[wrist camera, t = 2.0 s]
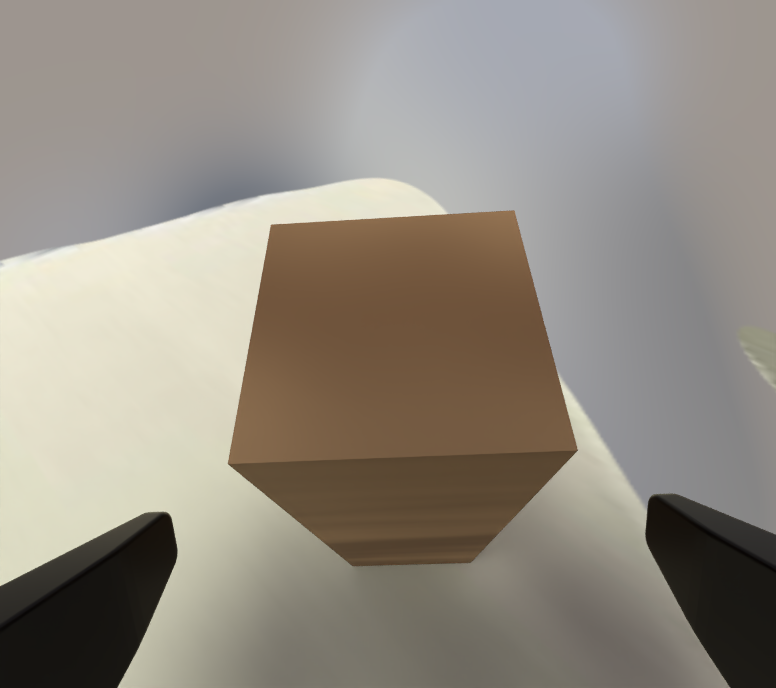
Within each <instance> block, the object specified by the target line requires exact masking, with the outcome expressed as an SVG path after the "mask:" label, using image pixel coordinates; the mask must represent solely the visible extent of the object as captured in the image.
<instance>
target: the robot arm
mask: <svg viewBox="0 0 776 688" xmlns="http://www.w3.org/2000/svg"><path fill="white" fill-rule="evenodd" d="M645 535H646V542H647V545H648V547H649V550H650V551H651V553H652V555H653V557H654V559H655V561H656V563H657V565H658V566H659V568H660V570H661V572H662V574H663V576H664V578H665V579H666V581H667V583H668V585H669V587H670V589H671V591H672V593H673V594H674V596H675V598H676V600H677V602H678V604H679V606H680V607H681V609H682V611H683V613H684V615H685V617H686V619H687V620H688V622H689V624H690V626H691V627H692V629H693V631H694V633H695V634H696V636H697V637H698V639H699V640H700V642H701V644H702V645H703V647H704V648H705V650H706V651H707V653H708V654H709V656H710V658H711V659H712V661H713V662H714V664H715V665H716V667H717V668H718V670H719V671H720V673H721V674H722V676H723V677H724V679H725V680H726V682H727V683H728V685H729V686H730V688H776V535H775V534H773V533H770V532H768V531H765V530H763V529H760V528H758V527H756V526H753V525H751V524H748V523H746V522H743V521H741V520H738V519H736V518H734V517H731V516H729V515H726V514H724V513H721V512H719V511H717V510H714V509H712V508H709V507H707V506H704V505H702V504H700V503H697V502H695V501H692V500H690V499H687V498H685V497H682V496H680V495H677V494H654V495H652V496H651V497H650V499H649V501H648V509H647V520H646V532H645ZM176 559H177V544H176V538H175V533H174V528H173V523H172V519H171V516H170V514H168V513H167V512H148V513H144V514H142V515H140V516H138V517H136V518H134V519H132V520H130V521H128V522H126V523H124V524H122V525H120V526H118V527H116V528H114V529H112V530H110V531H108V532H106V533H104V534H102V535H100V536H98V537H96V538H94V539H93V540H91V541H89V542H87V543H85V544H83V545H81V546H79V547H77V548H75V549H73V550H71V551H69V552H67V553H65V554H63V555H61V556H59V557H57V558H55V559H53V560H51V561H49V562H47V563H45V564H43V565H41V566H39V567H37V568H35V569H33V570H31V571H29V572H27V573H25V574H23V575H21V576H19V577H17V578H16V579H14V580H12V581H10V582H8V583H6V584H4V585H2V586H0V688H117V687H118V685H119V684H120V682H121V680H122V678H123V676H124V674H125V672H126V671H127V669H128V667H129V665H130V663H131V661H132V659H133V657H134V656H135V654H136V652H137V650H138V648H139V646H140V644H141V641H142V639H143V637H144V635H145V633H146V631H147V628H148V626H149V624H150V621H151V619H152V617H153V614H154V612H155V610H156V607H157V605H158V603H159V600H160V598H161V596H162V593H163V591H164V589H165V586H166V584H167V582H168V579H169V577H170V575H171V572H172V570H173V568H174V566H175V563H176Z"/></svg>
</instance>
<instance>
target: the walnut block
mask: <svg viewBox="0 0 776 688" xmlns="http://www.w3.org/2000/svg"><path fill="white" fill-rule="evenodd" d="M577 451H578V449H577V446H576V442H575V438H574V434H573V430H572V427H571V423H570V419H569V415H568V412H567V408H566V404H565V400H564V396H563V393H562V389H561V385H560V381H559V378H558V374H557V370H556V366H555V363H554V359H553V355H552V351H551V347H550V344H549V340H548V336H547V332H546V328H545V325H544V321H543V318H542V313H541V310H540V306H539V302H538V298H537V295H536V291H535V287H534V283H533V279H532V276H531V272H530V268H529V265H528V261H527V257H526V253H525V250H524V246H523V242H522V238H521V234H520V230H519V227H518V223H517V219H516V215H515V211H496V212H479V213H463V214H445V215H428V216H411V217H394V218H377V219H360V220H344V221H327V222H310V223H293V224H276V225H271V228H270V233H269V239H268V245H267V250H266V256H265V261H264V267H263V272H262V278H261V283H260V289H259V294H258V300H257V305H256V311H255V316H254V322H253V328H252V333H251V339H250V344H249V350H248V355H247V361H246V366H245V372H244V377H243V383H242V388H241V394H240V399H239V405H238V411H237V416H236V422H235V427H234V433H233V438H232V444H231V449H230V455H229V460H228V464H229V465H230V466H231V467H232V468H233V469H235V470H236V471H237V472H238V473H240V474H241V475H242V476H243V477H244V478H246V479H247V480H248V481H249V482H251V483H252V484H253V485H254V486H255V487H257V488H258V489H259V490H260V491H262V492H263V493H264V494H265V495H266V496H268V497H269V498H270V499H271V500H273V501H274V502H275V503H276V504H277V505H279V506H280V507H281V508H282V509H284V510H285V511H286V512H287V513H288V514H290V515H291V516H292V517H293V518H295V519H296V520H297V521H298V522H299V523H301V524H302V525H303V526H304V527H306V528H307V529H308V530H309V531H310V532H312V533H313V534H314V535H315V536H317V537H318V538H319V539H320V540H321V541H323V542H324V543H325V544H326V545H328V546H329V547H330V548H331V549H332V550H334V551H335V552H336V553H337V554H339V555H340V556H341V557H342V558H343V559H345V560H346V561H347V562H348V563H350V564H351V565H352V566H376V565H409V564H443V563H471V562H472V561H473V560H474V559H475V557H476V556H477V555H478V554H479V553H480V552H481V551H482V550H483V549H484V548H485V547H486V546H487V545H488V544H489V543H490V542H491V541H492V540H493V539H494V538H495V537H496V535H497V534H498V533H499V532H500V531H501V530H502V529H503V528H504V527H505V526H506V525H507V524H508V523H509V522H510V521H511V520H512V519H513V518H514V517H515V516H516V515H517V514H518V512H519V511H520V510H521V509H522V508H523V507H524V506H525V505H526V504H527V503H528V502H529V501H530V500H531V499H532V498H533V497H534V496H535V495H536V494H537V493H538V492H539V490H540V489H541V488H542V487H543V486H544V485H545V484H546V483H547V482H548V481H549V480H550V479H551V478H552V477H553V476H554V475H555V474H556V473H557V472H558V471H559V470H560V469H561V467H562V466H563V465H564V464H565V463H566V462H567V461H568V460H569V459H570V458H571V457H572V456H573V455H574V454H575V453H576V452H577Z"/></svg>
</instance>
